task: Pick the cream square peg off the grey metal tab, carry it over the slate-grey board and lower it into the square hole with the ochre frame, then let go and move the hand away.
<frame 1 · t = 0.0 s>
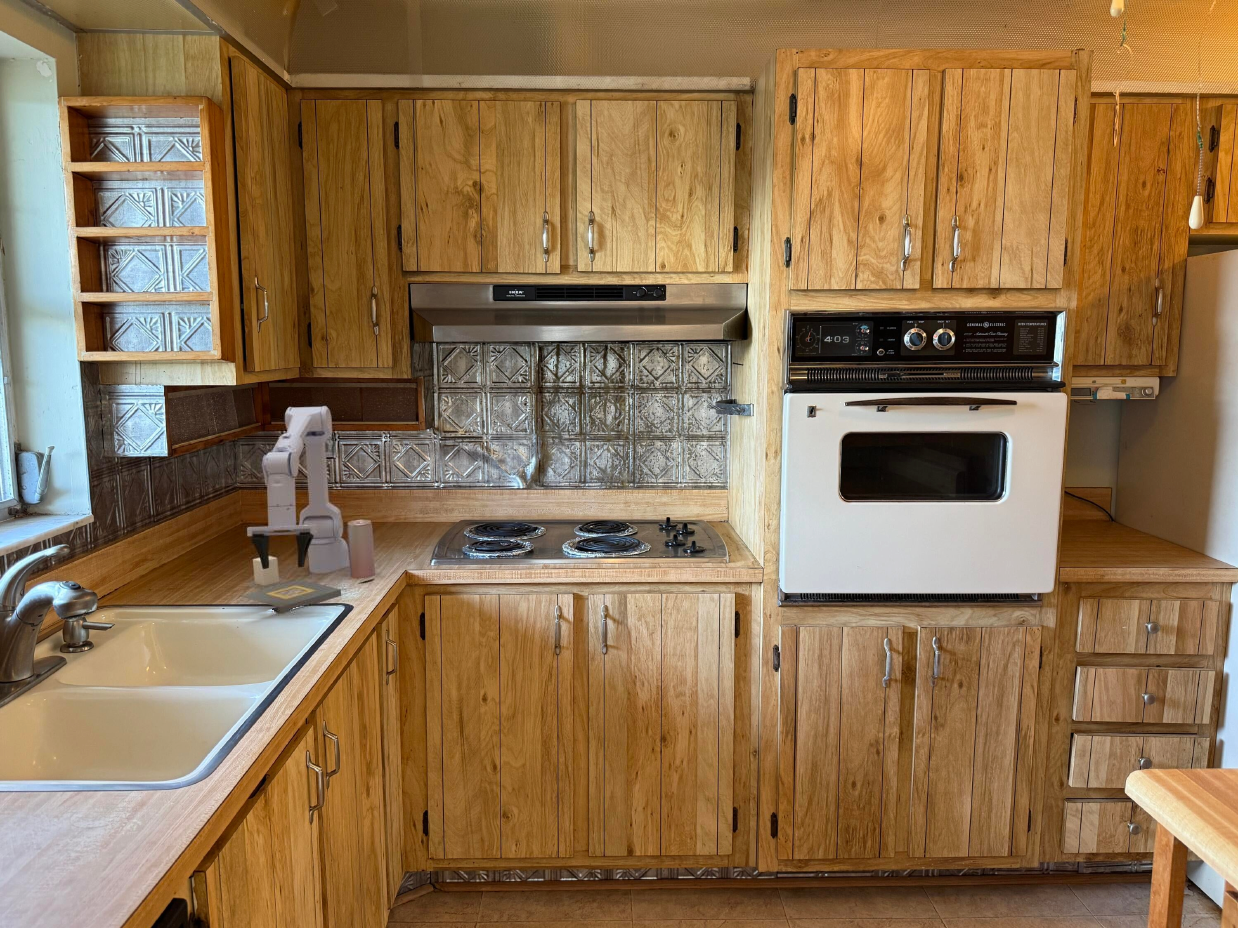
hand: (283, 567, 191), 11 cm above the worktop, tool pointing down, fingers open, 7 cm apart
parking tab: (267, 588, 213), on the worktop
beverage can: (363, 581, 218), on the worktop
hole board: (291, 598, 204), on the worktop
peg: (267, 582, 213), point 1 cm above the worktop, touching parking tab
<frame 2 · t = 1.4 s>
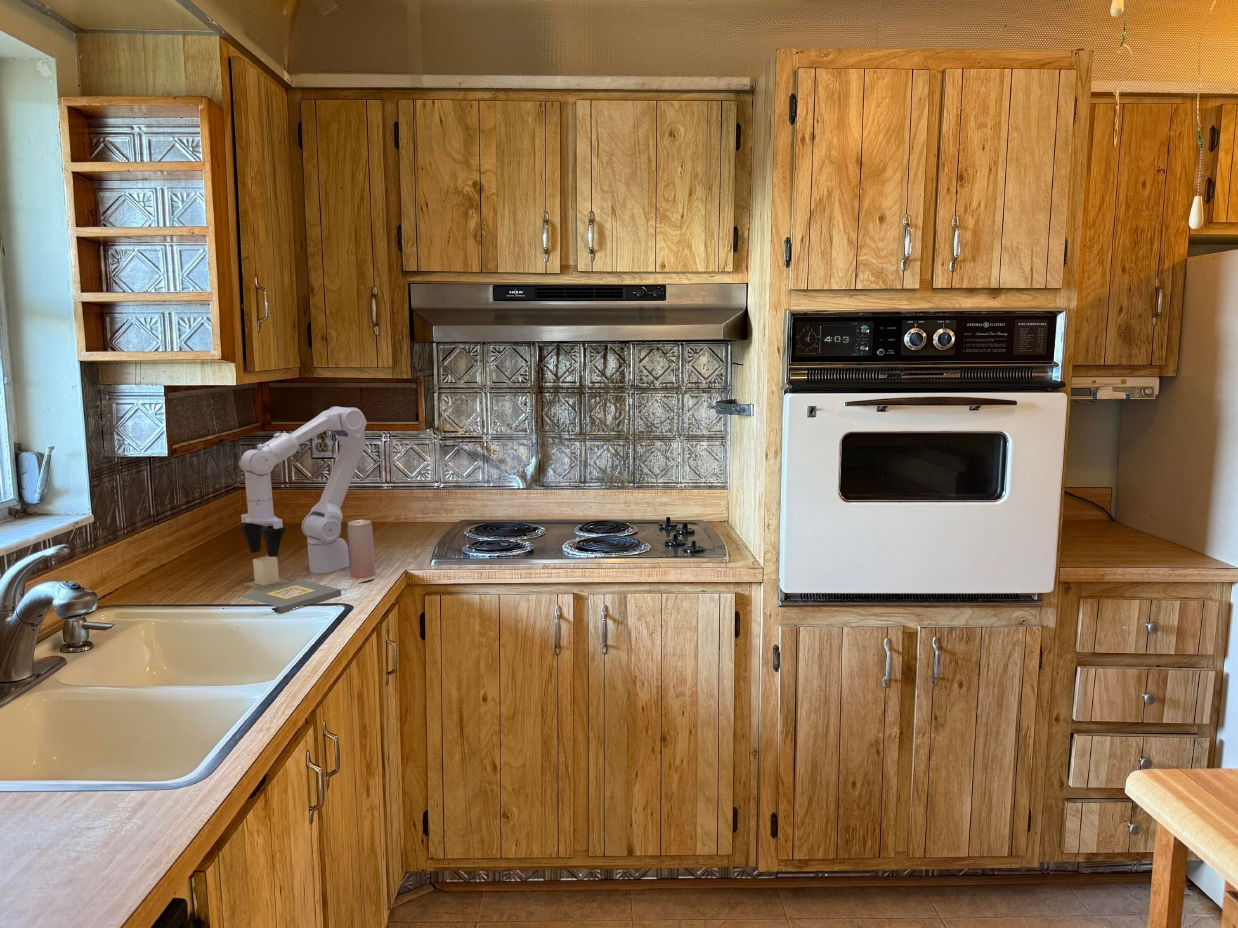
hand: (264, 554, 212), 9 cm above the worktop, tool pointing down, fingers open, 7 cm apart
nothing on the worktop moved.
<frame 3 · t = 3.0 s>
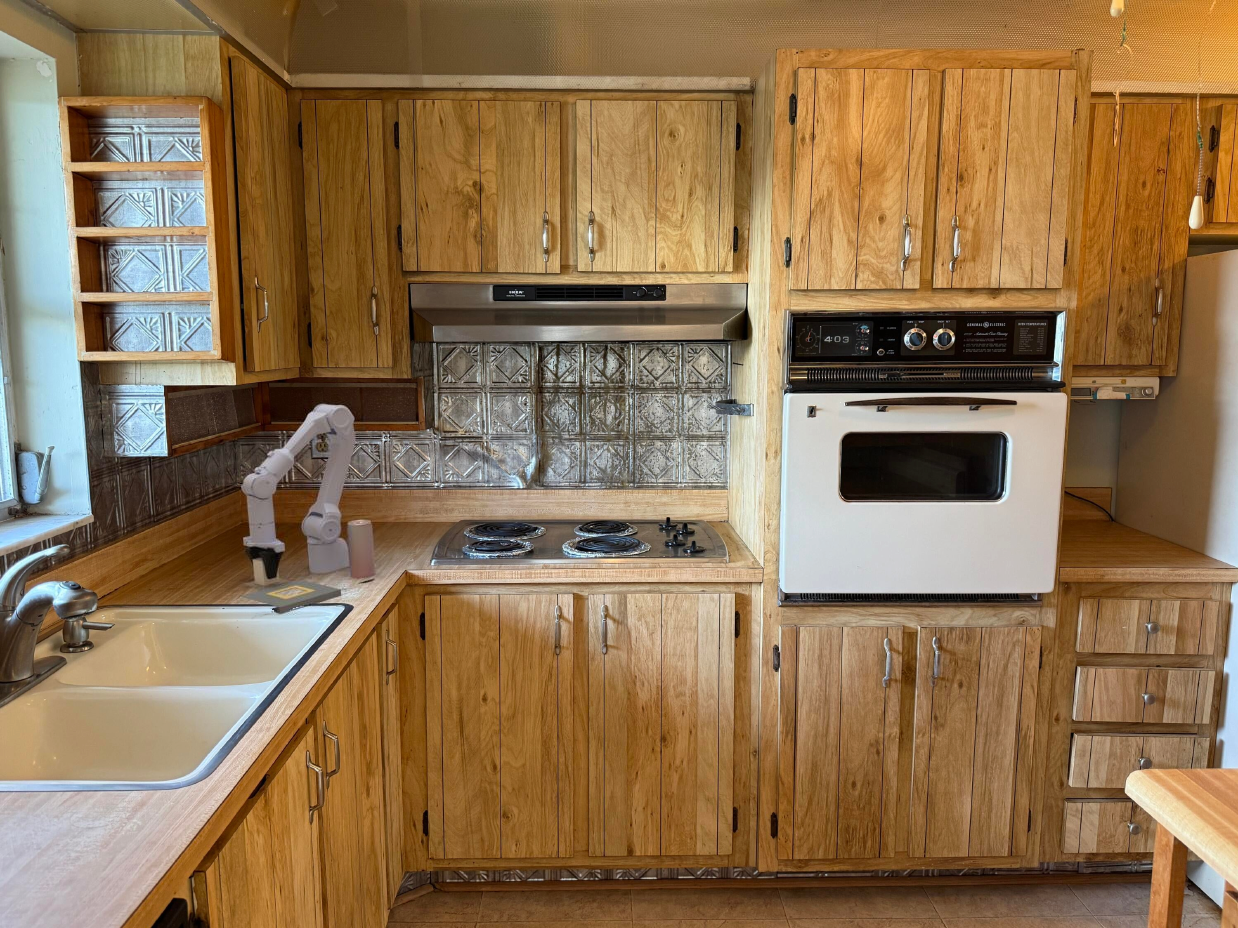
hand: (266, 576, 213), 3 cm above the worktop, tool pointing down, fingers closed on peg, 4 cm apart
peg: (267, 582, 213), point 1 cm above the worktop, touching gripper, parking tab
everything else where it was.
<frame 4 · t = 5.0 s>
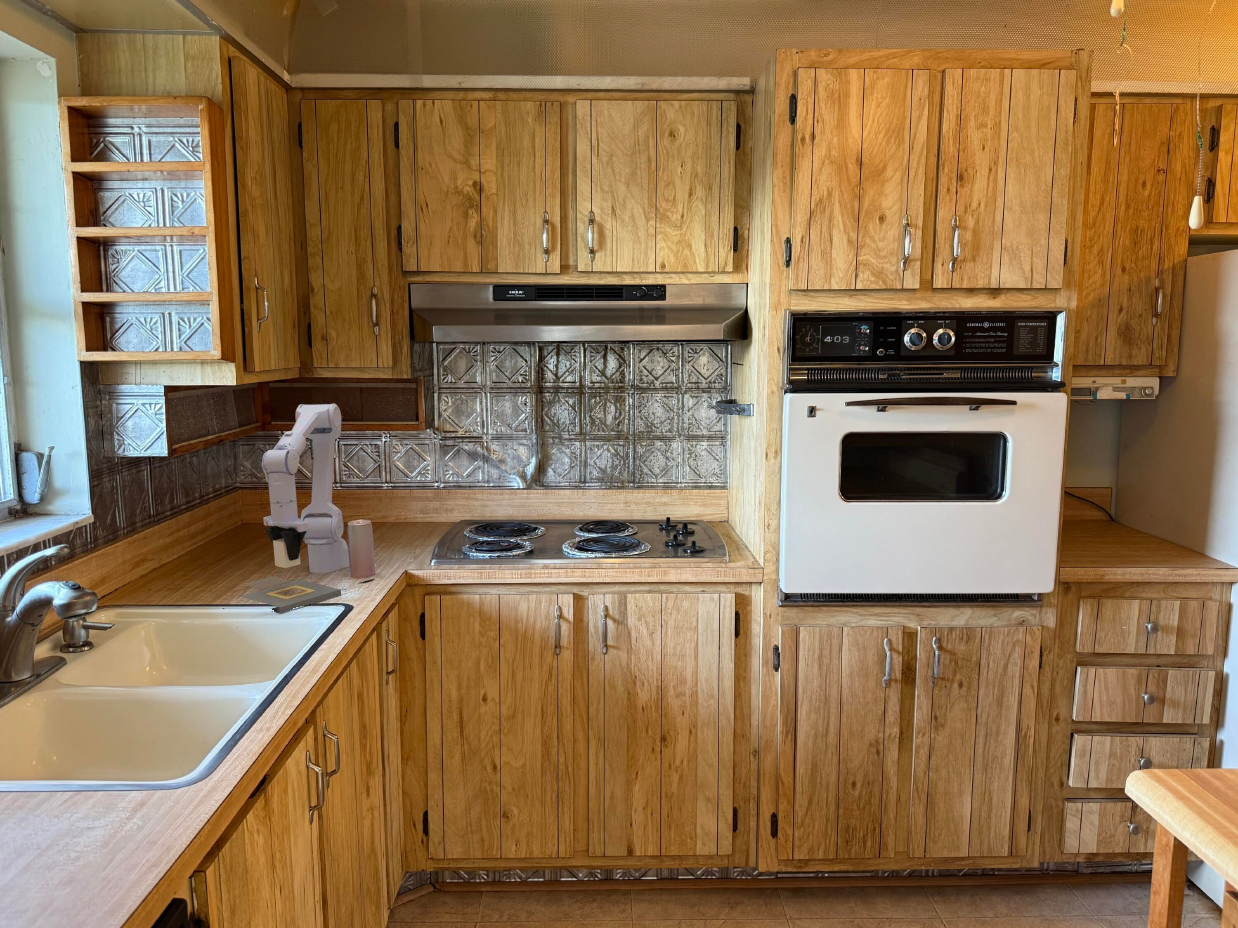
hand: (288, 558, 202), 10 cm above the worktop, tool pointing down, fingers closed on peg, 4 cm apart
peg: (287, 564, 202), point 8 cm above the worktop, touching gripper
everything else where it was.
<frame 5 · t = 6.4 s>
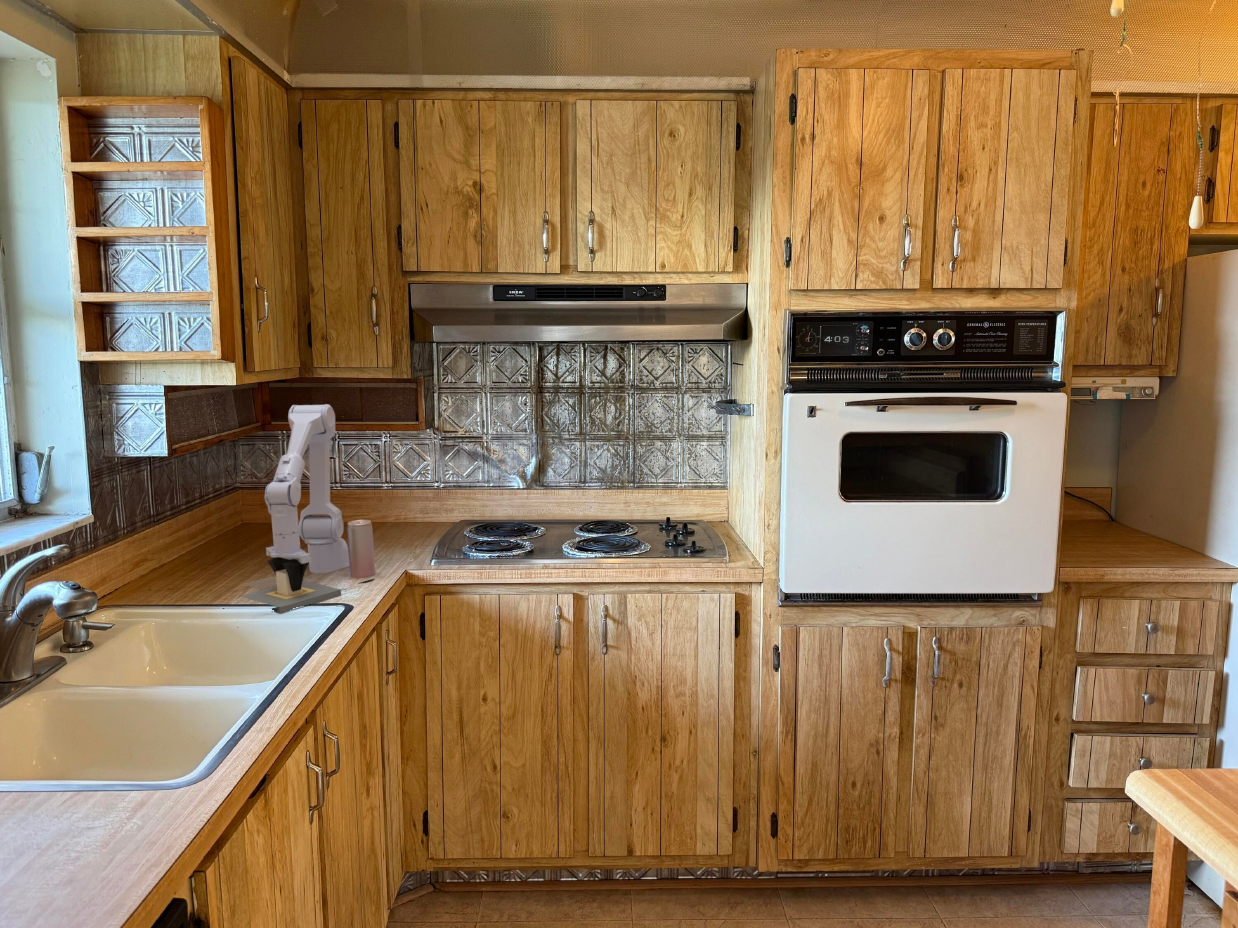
hand: (290, 588, 203), 2 cm above the worktop, tool pointing down, fingers closed on peg, 4 cm apart
peg: (290, 595, 204), point 1 cm above the worktop, touching gripper
everything else where it was.
when the fingers open (2 cm above the worktop, at t = 7.1 s): peg stays where it is, resting in hole board.
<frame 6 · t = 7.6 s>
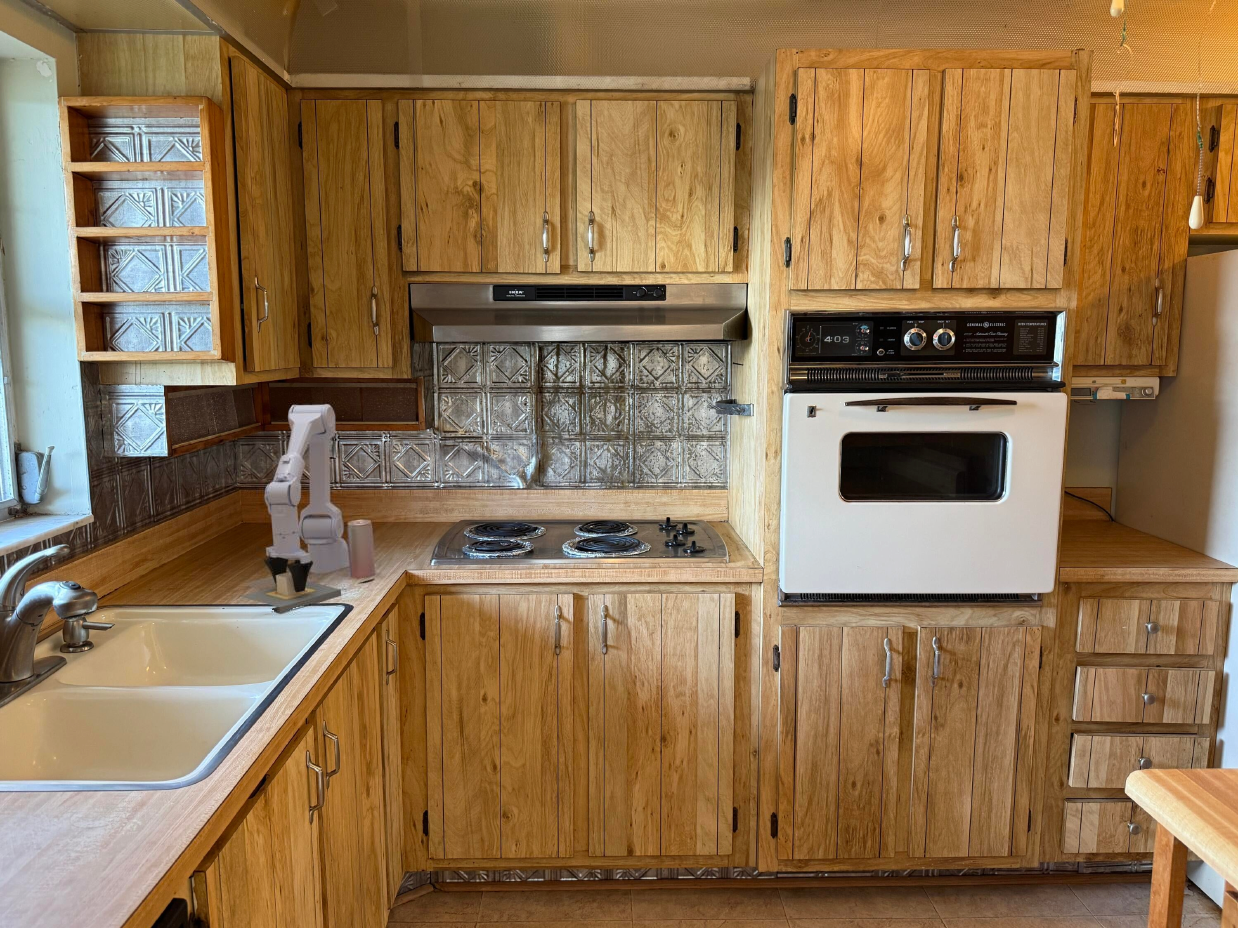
hand: (290, 588, 203), 2 cm above the worktop, tool pointing down, fingers open, 7 cm apart
peg: (290, 599, 204), resting in hole board
everything else where it was.
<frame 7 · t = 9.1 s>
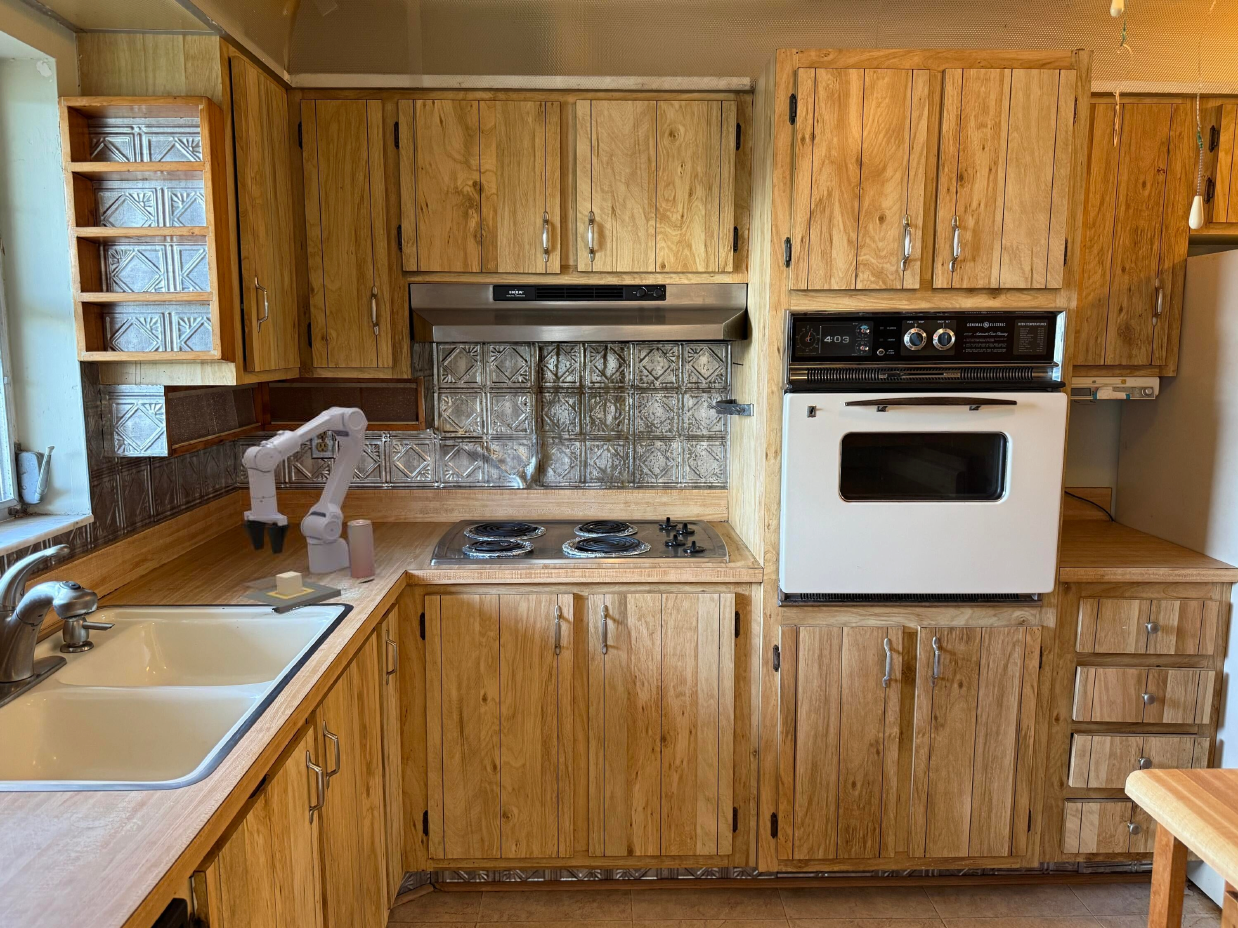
hand: (268, 551, 211), 10 cm above the worktop, tool pointing down, fingers open, 7 cm apart
nothing on the worktop moved.
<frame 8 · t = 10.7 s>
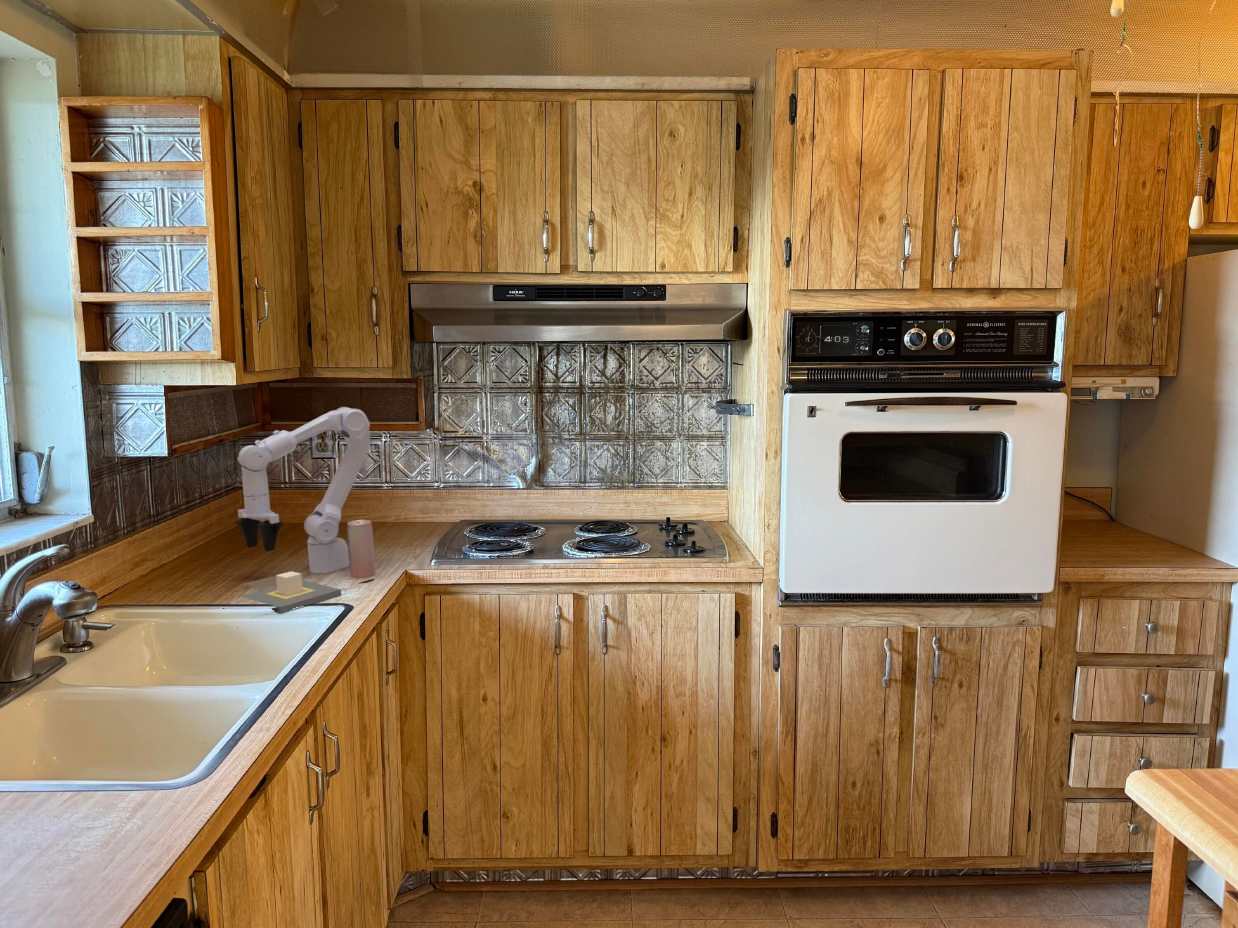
hand: (261, 548, 214), 9 cm above the worktop, tool pointing down, fingers open, 7 cm apart
nothing on the worktop moved.
at the end: peg 0.2 cm off-centre on the hole board, point 0.0 cm above the hole board's base; peg tilted 0°; the gripper is holding nothing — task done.
